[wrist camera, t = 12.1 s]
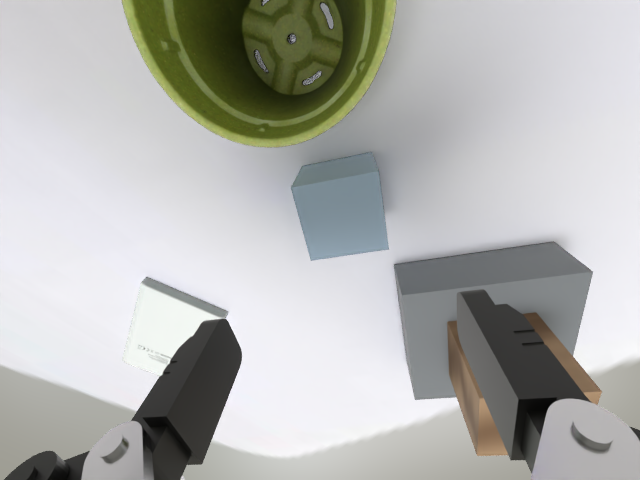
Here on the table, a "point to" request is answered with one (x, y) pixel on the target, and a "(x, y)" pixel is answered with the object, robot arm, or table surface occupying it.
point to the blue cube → (341, 207)
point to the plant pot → (277, 54)
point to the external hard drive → (163, 325)
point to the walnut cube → (472, 398)
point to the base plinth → (503, 288)
